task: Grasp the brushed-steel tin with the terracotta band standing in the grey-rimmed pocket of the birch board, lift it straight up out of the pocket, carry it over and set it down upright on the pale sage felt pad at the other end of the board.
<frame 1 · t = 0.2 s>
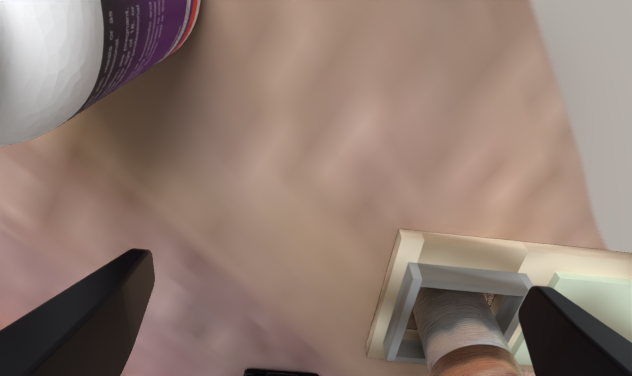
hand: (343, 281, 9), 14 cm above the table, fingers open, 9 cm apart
pocket board: (510, 306, 30), on the table
steel tin: (445, 299, 30), resting in pocket board
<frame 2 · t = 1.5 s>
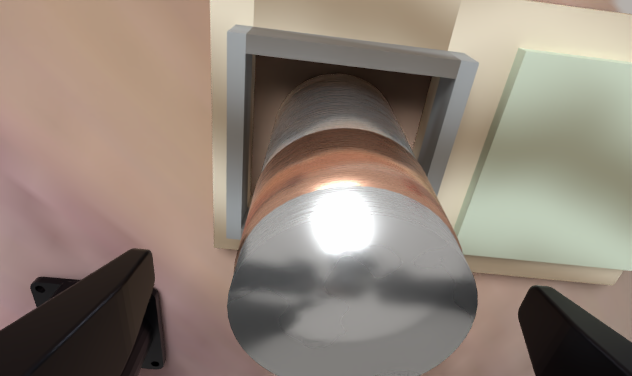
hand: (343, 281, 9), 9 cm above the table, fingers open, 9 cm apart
pocket board: (448, 147, 17), on the table
steel tin: (334, 134, 17), resting in pocket board
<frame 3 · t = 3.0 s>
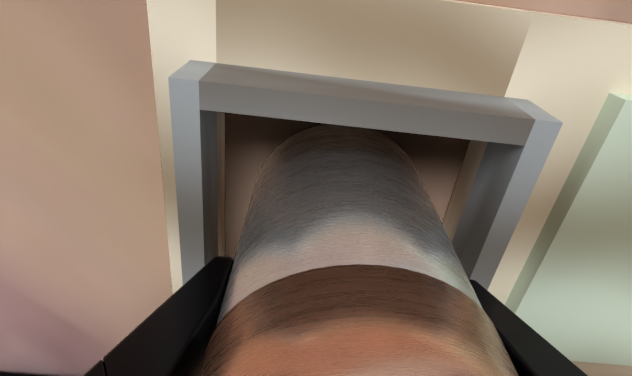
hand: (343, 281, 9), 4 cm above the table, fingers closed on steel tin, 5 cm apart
pocket board: (491, 217, 13), on the table
steel tin: (337, 201, 12), resting in pocket board, touching gripper
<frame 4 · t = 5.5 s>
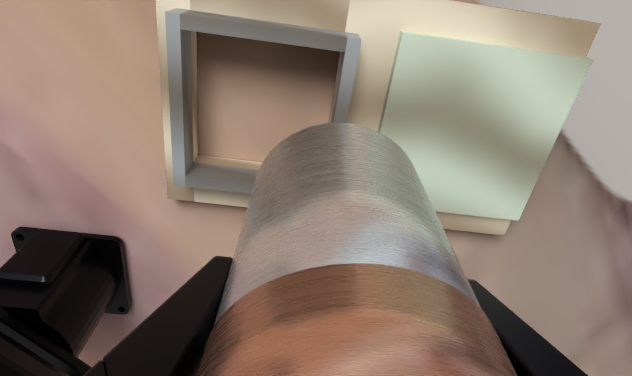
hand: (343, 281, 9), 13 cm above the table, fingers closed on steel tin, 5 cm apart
pocket board: (358, 114, 21), on the table
steel tin: (336, 201, 12), point 10 cm above the table, touching gripper
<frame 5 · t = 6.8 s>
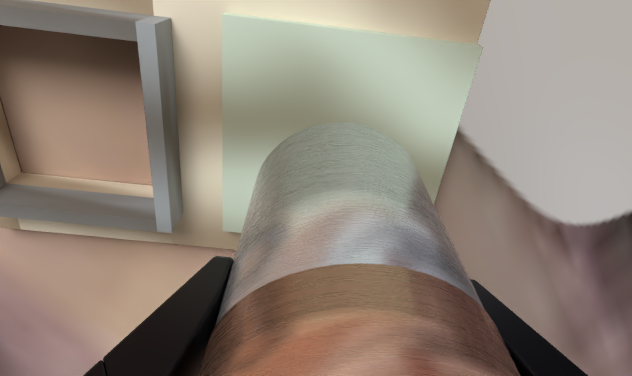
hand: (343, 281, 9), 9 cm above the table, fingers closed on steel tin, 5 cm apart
pocket board: (206, 121, 17), on the table
steel tin: (337, 201, 12), point 5 cm above the table, touching gripper
when the fingers open (6 cm above the table, at t = 8.1 s): steel tin drops 1 cm, resting on pocket board.
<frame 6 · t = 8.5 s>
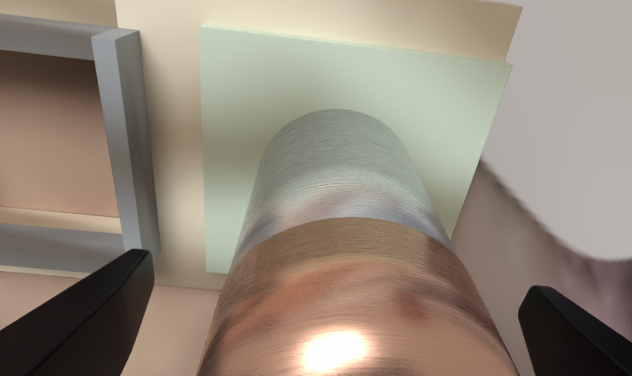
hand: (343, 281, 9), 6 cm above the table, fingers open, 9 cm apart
pocket board: (186, 147, 14), on the table
steel tin: (334, 183, 13), point 2 cm above the table, touching pocket board
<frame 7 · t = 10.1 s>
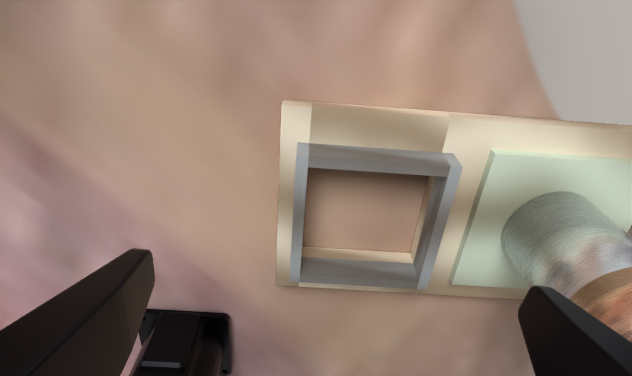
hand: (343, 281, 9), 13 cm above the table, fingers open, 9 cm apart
pocket board: (445, 209, 24), on the table
steel tin: (548, 230, 22), point 2 cm above the table, touching pocket board
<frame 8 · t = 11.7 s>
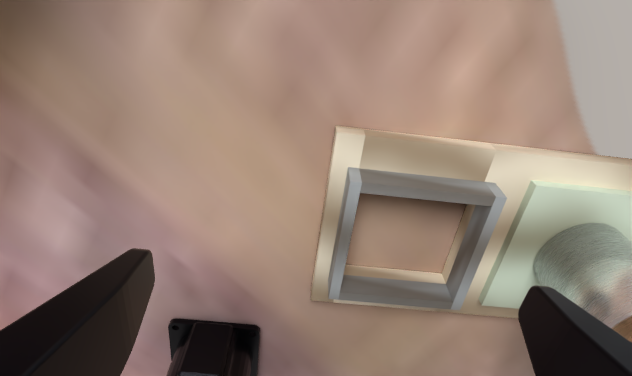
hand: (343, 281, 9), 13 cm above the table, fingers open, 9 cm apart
pocket board: (480, 233, 25), on the table
steel tin: (578, 258, 23), point 2 cm above the table, touching pocket board
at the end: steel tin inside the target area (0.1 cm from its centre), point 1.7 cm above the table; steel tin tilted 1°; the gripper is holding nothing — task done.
